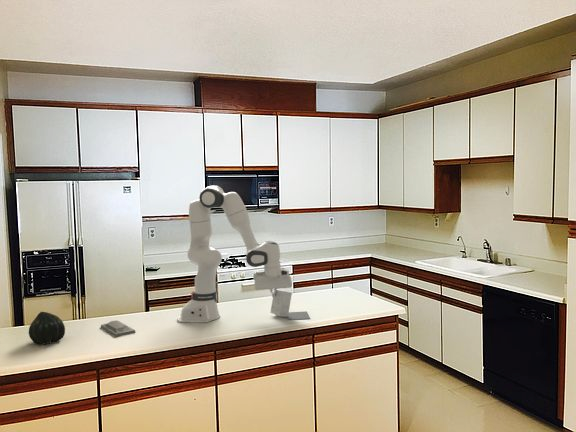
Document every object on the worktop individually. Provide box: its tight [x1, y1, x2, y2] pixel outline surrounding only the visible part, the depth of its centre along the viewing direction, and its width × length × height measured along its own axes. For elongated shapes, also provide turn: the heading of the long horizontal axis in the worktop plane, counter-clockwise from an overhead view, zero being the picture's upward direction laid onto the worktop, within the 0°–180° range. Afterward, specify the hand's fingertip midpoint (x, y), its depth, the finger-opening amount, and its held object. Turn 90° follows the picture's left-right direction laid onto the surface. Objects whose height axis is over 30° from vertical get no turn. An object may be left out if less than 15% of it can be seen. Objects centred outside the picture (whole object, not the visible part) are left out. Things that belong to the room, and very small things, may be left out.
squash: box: [28, 311, 66, 346], centre depth 218 cm, size 14×15×15 cm
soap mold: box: [100, 319, 136, 338], centre depth 233 cm, size 10×20×4 cm, turn 41°
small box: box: [270, 288, 293, 317], centre depth 250 cm, size 8×6×13 cm
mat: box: [285, 311, 311, 321], centre depth 251 cm, size 12×13×1 cm
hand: (273, 296), depth 249 cm, fingers closed, pressing on small box
